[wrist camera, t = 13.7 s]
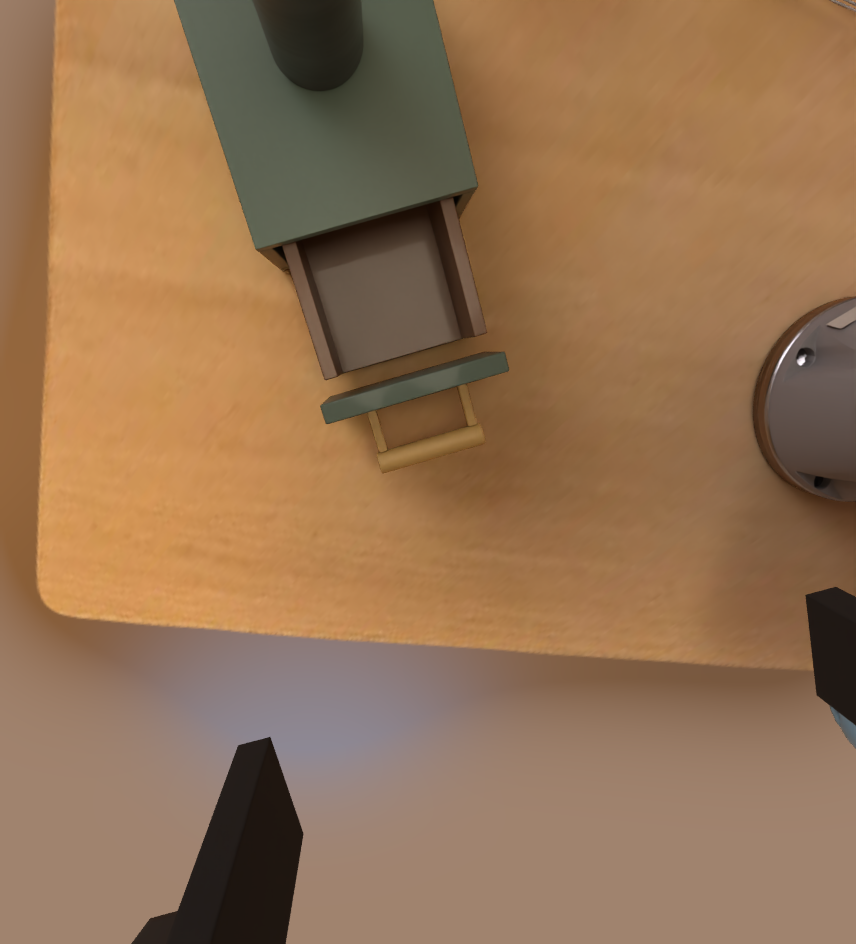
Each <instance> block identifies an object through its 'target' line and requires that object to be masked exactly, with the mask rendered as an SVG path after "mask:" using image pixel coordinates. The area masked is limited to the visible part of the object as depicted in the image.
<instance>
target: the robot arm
mask: <svg viewBox="0 0 856 944" xmlns="http://www.w3.org/2000/svg"><path fill="white" fill-rule="evenodd" d="M753 420H754V428H755V433H756V437H757V440H758V443H759V446H760V448H761V451H762V453H763V455H764V457H765V458H766V460H767V462H768V463H769V464H770V466H771V467H772V468H773V469H774V471H775V472H776V473H777V474H778V475H779V476H780V477H782V478H783V479H784V480H785V481H787V482H788V483H790V484H791V485H793V486H795V487H797V488H798V489H801V490H803V491H806V492H809V493H812V494H815V495H818V496H821V497H824V498H828V499H831V500H837V501H856V296H855V297H847V298H842V299H838V300H835V301H832V302H829V303H826V304H824V305H822V306H820V307H818V308H816V309H814V310H812V311H811V312H809V313H807V314H806V315H805V316H803V317H802V318H800V319H799V320H798V321H797V322H796V323H794V324H793V325H792V326H791V327H790V328H789V329H788V330H787V331H786V332H785V333H784V334H783V335H782V337H781V338H780V339H779V340H778V342H777V343H776V344H775V346H774V347H773V349H772V350H771V352H770V354H769V355H768V357H767V359H766V361H765V363H764V365H763V367H762V370H761V373H760V375H759V378H758V382H757V385H756V390H755V395H754V404H753ZM806 604H807V613H808V622H809V631H810V640H811V649H812V658H813V667H814V676H815V684H816V693H817V696H819V697H820V698H821V699H823V700H824V701H825V702H826V703H828V704H829V705H830V709H831V712H832V714H833V716H834V718H835V721H836V722H837V724H838V725H839V726H840V727H841V729H842V731H843V733H844V734H845V736H846V738H847V739H848V740H849V742H850V743H851V744H852V745H853V746H854V747H855V748H856V597H855V596H853V595H851V594H849V593H847V592H845V591H843V590H841V589H839V588H837V587H833V588H830V589H826V590H822V591H818V592H815V593H811V594H807V595H806ZM302 839H303V831H302V828H301V825H300V823H299V819H298V816H297V814H296V811H295V808H294V805H293V802H292V799H291V796H290V793H289V790H288V787H287V784H286V782H285V779H284V776H283V773H282V770H281V767H280V764H279V761H278V758H277V755H276V752H275V749H274V747H273V744H272V741H271V738H270V737H268V738H265V739H261V740H257V741H253V742H249V743H246V744H242V745H239V746H238V747H237V750H236V753H235V756H234V758H233V761H232V764H231V767H230V769H229V772H228V775H227V777H226V780H225V783H224V786H223V788H222V791H221V794H220V797H219V799H218V802H217V805H216V808H215V810H214V813H213V816H212V819H211V821H210V824H209V827H208V830H207V833H206V835H205V838H204V841H203V843H202V846H201V849H200V851H199V854H198V857H197V860H196V863H195V865H194V868H193V871H192V873H191V876H190V879H189V882H188V884H187V887H186V890H185V892H184V896H183V898H182V901H181V903H180V906H179V909H178V911H176V912H172V913H168V914H165V915H161V916H158V917H154V918H150V919H149V921H148V922H147V923H146V925H145V926H144V927H143V929H142V930H141V932H140V933H139V934H138V936H137V937H136V938H135V940H134V941H133V942H132V944H286V938H287V931H288V925H289V919H290V913H291V907H292V901H293V895H294V888H295V882H296V876H297V870H298V864H299V857H300V852H301V845H302Z"/></svg>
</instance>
